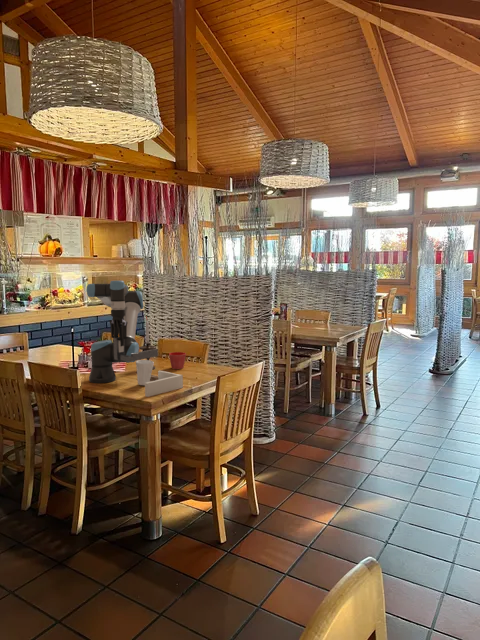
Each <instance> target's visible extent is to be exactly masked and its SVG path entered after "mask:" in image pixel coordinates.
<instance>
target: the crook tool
mask: <svg viewBox="0 0 480 640" xmlns="http://www.w3.org/2000/svg"><path fill="white" fill-rule="evenodd" d="M112 340H113V342H112V343H114V359H115V360H123V361H127V362H130V363H133V362H132V361H135V362H136V361H138V360H147V359H146V358H150V359H151V358H156V357H158V356H159V351H158V350H159V349H158V348H156V349H152V350H147V351H146V350H141V351H139V352H136V353H131V356H128V355H125V344H124V352H119V341H118V340H119V336H118V337H115V338H112ZM127 362H126V363H127Z"/></svg>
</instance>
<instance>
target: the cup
mask: <svg viewBox="0 0 480 640" xmlns="http://www.w3.org/2000/svg"><path fill="white" fill-rule="evenodd" d="M154 363H155V362H154V361H153V360H150V359H149V360H147V359H141V360H136V361H135V365H136V367H135V368H136V375H137V376H136V377H137V385H140V386H145V383H147V382H151V381H150V378H151V375H152V372H153V370H154V369H153V366H154ZM152 369H153V370H152Z"/></svg>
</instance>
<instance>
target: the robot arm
mask: <svg viewBox="0 0 480 640" xmlns="http://www.w3.org/2000/svg"><path fill="white" fill-rule="evenodd" d="M86 295H87V297H88V298H96V299H99V300H100V301H101V302H102V303H103V304H104V305H105V306H106V307H109V308H111V309H110V316H111V317H112V319H110V320H109V324H110V325H109V326H110V335H111V339H113V338H115V337H119V340H118V341H119V352H124V344H125V355H128V356H131V353H136V352H140V351H139V350H140V349H139V347H140V345H139V343H138V342H137V340H136V338H135V337H136V330H137V323H138V322H137V321H138V315H139V313H141V310H144V308H145V307H144V297H143V296H144V295H143V292H142V291H141V290H129V287H128V286H127V285H126V284H125V281H124V280H110V282H109V283H94V282H93V283H88V284H87V285H86ZM111 339H105V340H104V339H103V340H99V341H94V342H93V343H92V344H91V346H90V357H91V361H90V363H91V369H90V373H89V376H88V382H89V381H90V382H89V383H93V384H106V383H112V382H115V381H116V378H117V377H116V373H115V371H114V368H113V363H114V364H115V363H116V364H117V363H128V364H129V363H136V361H132V362H127V361H123V360H115V359H114V343H113V342H112V340H111Z"/></svg>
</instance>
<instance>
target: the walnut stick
mask: <svg viewBox="0 0 480 640" xmlns="http://www.w3.org/2000/svg"><path fill="white" fill-rule="evenodd" d="M155 380H158V375H154V374H151V378H150V382H151V381H155Z"/></svg>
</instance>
